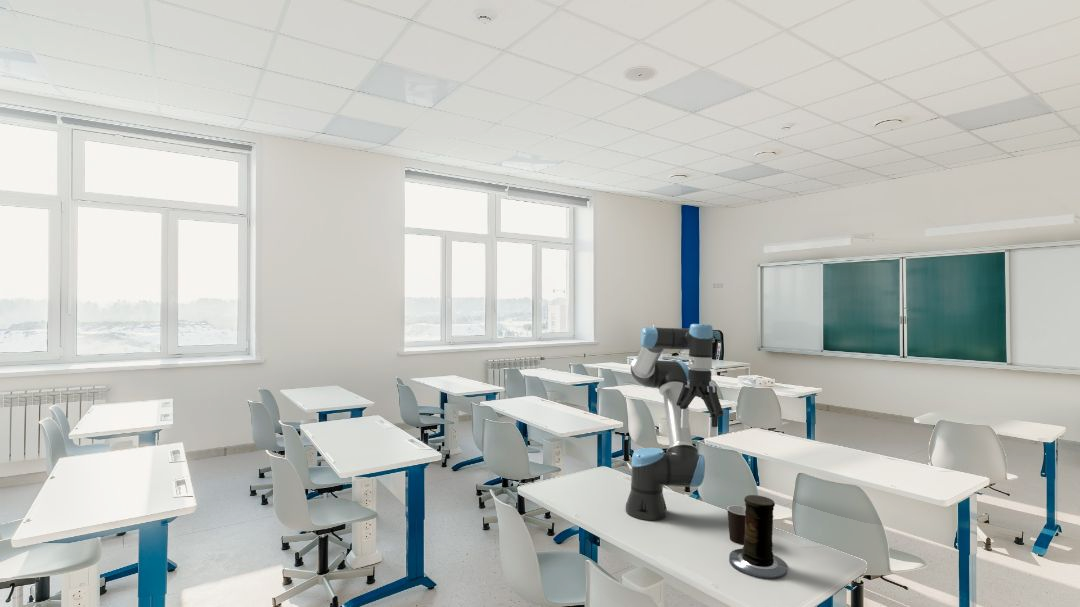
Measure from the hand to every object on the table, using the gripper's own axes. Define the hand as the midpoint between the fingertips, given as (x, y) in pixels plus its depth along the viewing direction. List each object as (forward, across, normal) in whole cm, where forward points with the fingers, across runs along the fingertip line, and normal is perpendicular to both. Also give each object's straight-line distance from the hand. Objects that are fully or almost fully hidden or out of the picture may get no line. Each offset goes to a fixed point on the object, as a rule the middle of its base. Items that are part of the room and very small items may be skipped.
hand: (698, 432), depth 177 cm
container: (+33, +24, +3) cm, 41 cm away
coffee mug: (+35, +9, +13) cm, 38 cm away
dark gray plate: (+35, +24, +3) cm, 42 cm away
